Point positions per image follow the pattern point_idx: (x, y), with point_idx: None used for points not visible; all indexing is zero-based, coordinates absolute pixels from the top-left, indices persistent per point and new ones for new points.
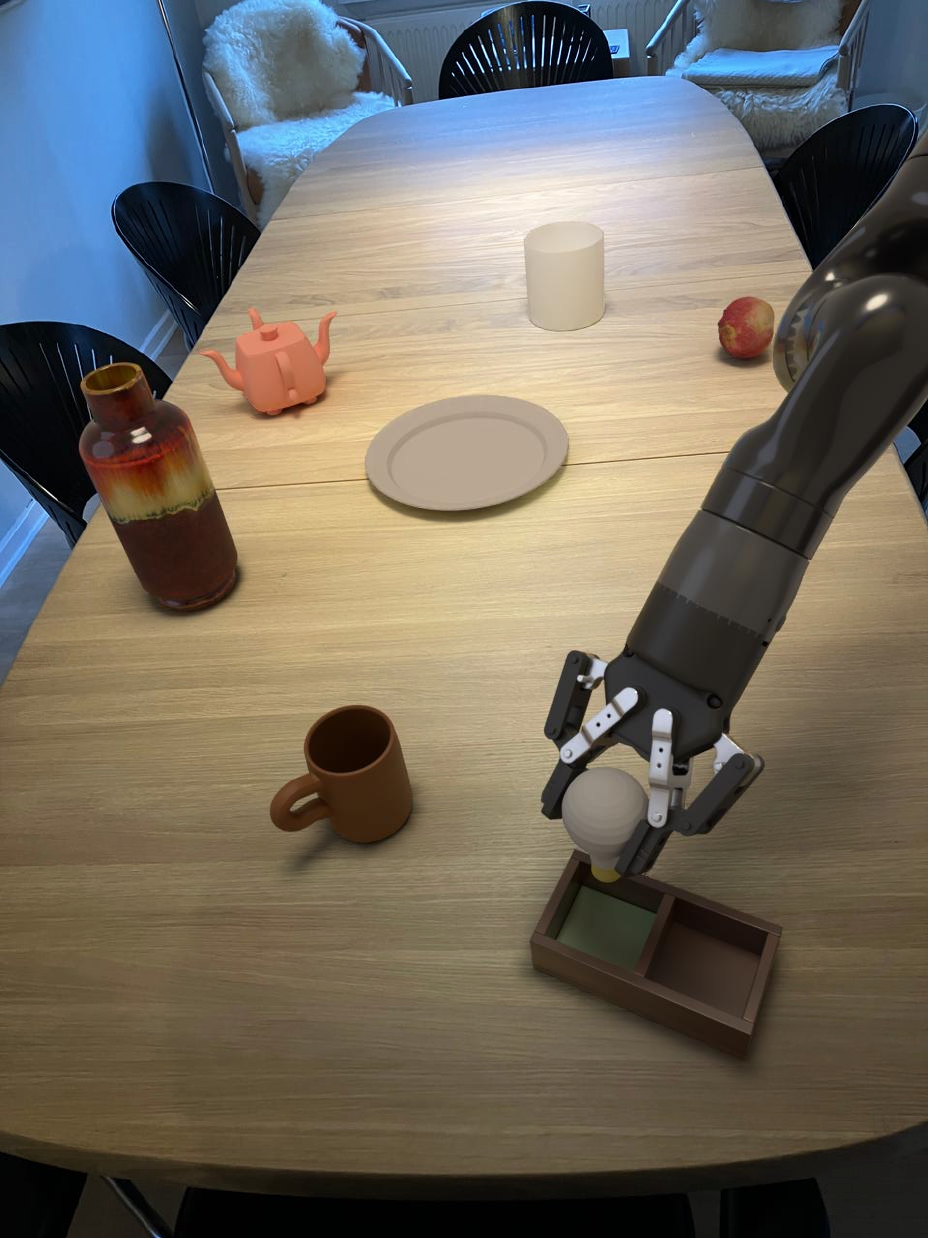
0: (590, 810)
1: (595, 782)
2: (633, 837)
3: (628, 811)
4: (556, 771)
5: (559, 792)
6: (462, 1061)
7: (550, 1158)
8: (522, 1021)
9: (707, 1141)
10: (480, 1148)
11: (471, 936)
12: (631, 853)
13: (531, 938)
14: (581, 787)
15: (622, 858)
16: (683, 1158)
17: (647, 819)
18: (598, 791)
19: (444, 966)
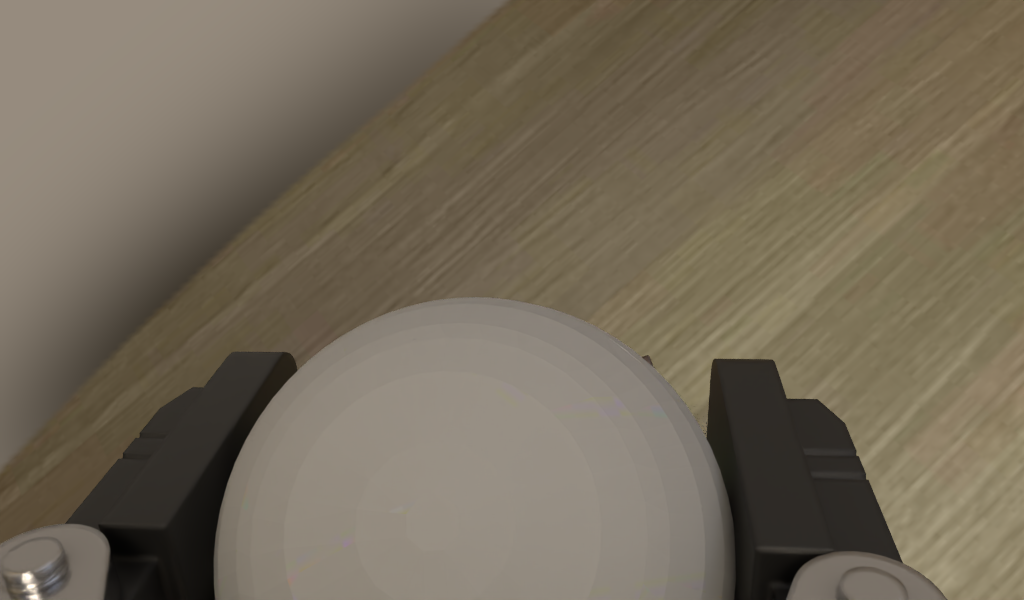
0: (423, 340)
1: (503, 496)
2: (200, 451)
3: (243, 511)
4: (864, 523)
5: (741, 433)
6: (606, 146)
7: (357, 147)
8: (572, 286)
9: (141, 367)
10: (466, 74)
11: (817, 346)
12: (204, 409)
13: (648, 361)
14: (576, 427)
15: (251, 382)
16: (164, 312)
17: (149, 569)
18: (437, 448)
19: (801, 251)
